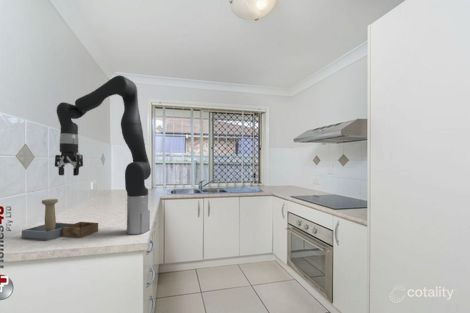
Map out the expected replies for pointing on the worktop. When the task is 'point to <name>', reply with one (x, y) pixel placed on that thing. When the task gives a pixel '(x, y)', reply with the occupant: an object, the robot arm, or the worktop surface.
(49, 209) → the handle
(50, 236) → the tray
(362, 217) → the worktop surface
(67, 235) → the brown wooden box
